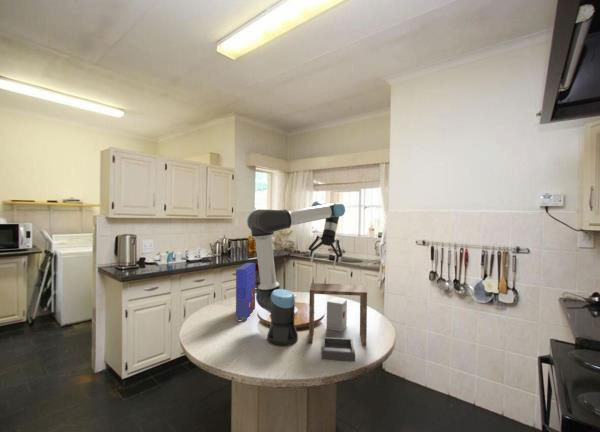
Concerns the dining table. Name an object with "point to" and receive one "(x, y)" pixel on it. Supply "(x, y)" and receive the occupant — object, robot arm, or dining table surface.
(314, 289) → the tunnel
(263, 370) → the dining table surface
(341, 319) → the supplement box
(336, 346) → the tray
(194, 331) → the dining table surface
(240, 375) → the dining table surface
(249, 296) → the cereal box
